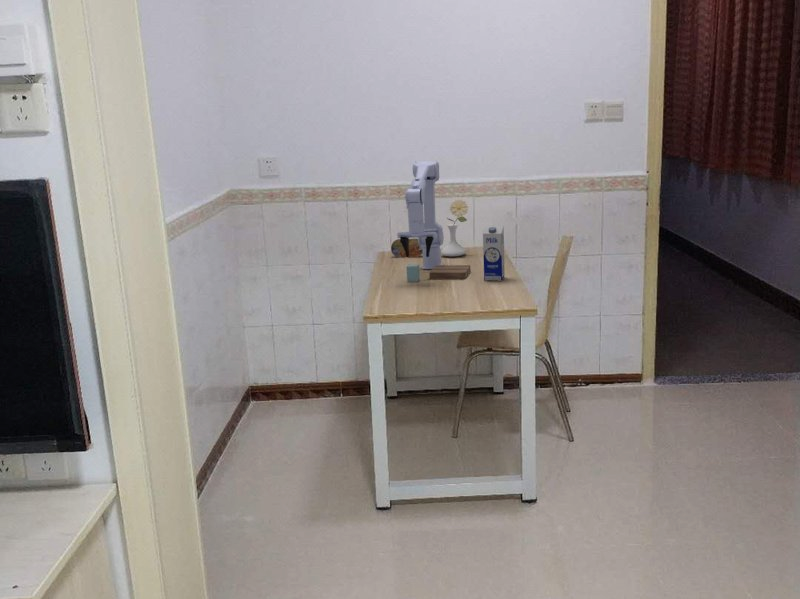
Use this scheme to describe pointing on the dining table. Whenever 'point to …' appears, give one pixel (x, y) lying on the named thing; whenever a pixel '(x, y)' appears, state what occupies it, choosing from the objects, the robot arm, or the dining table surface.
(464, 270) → the walnut base
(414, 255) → the tin
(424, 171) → the robot arm
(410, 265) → the teal block
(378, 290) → the dining table surface
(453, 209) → the flower in vase
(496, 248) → the milk carton
